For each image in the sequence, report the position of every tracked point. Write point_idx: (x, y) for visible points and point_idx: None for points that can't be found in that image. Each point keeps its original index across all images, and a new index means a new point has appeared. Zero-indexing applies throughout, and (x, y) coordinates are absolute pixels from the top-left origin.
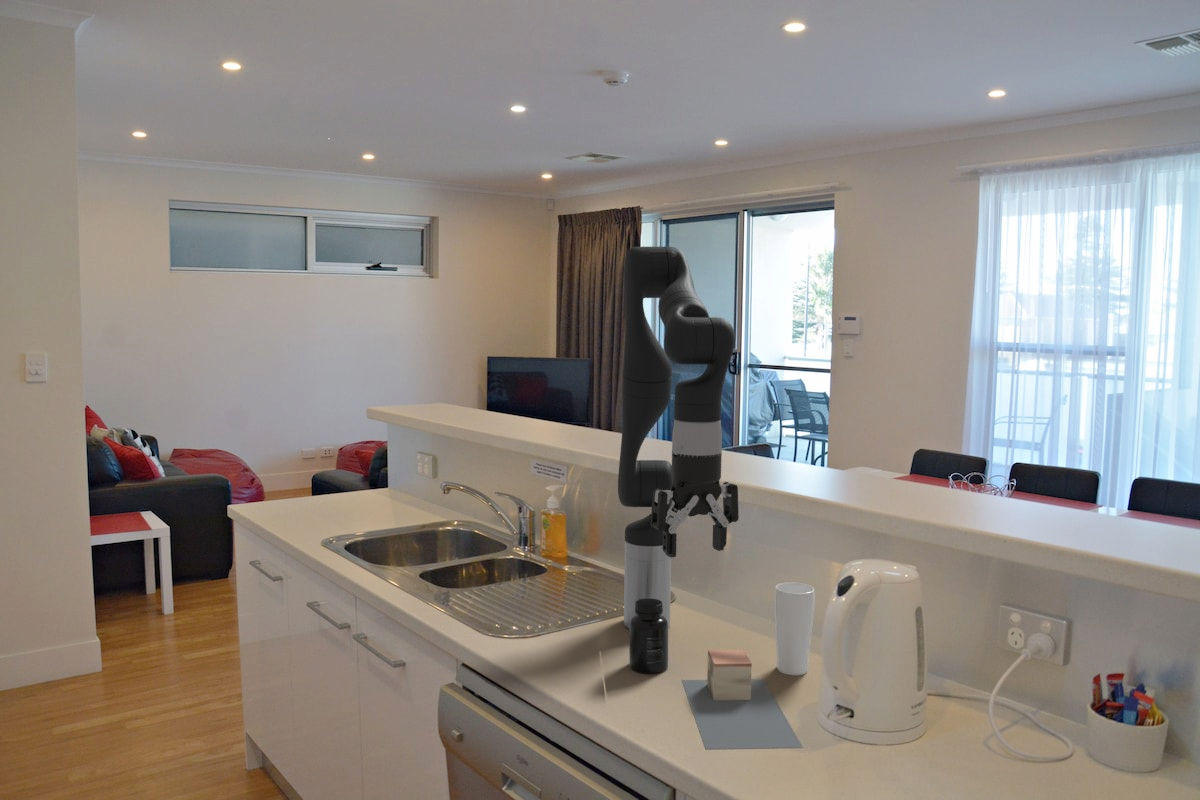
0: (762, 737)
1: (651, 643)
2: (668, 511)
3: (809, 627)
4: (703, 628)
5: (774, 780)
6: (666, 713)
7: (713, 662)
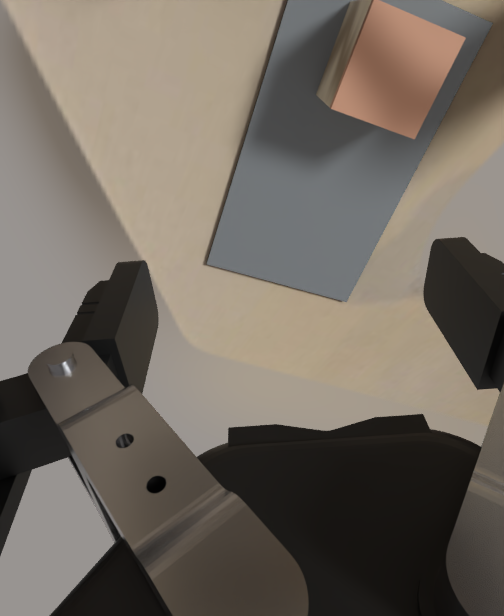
0: (310, 260)
1: None
2: (66, 438)
3: None
4: None
5: (260, 347)
6: (198, 106)
7: (335, 95)
